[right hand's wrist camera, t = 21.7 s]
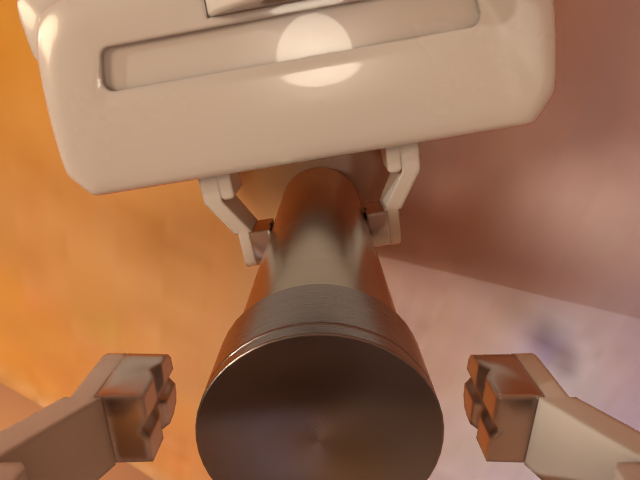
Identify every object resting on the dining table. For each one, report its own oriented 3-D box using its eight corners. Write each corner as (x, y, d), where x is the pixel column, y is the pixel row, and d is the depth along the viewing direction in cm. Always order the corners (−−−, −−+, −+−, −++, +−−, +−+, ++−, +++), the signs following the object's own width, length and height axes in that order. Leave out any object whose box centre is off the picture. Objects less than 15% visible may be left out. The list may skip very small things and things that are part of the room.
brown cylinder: (279, 236, 26) (210, 486, 10) (286, 162, 24) (218, 315, 8) (352, 245, 26) (403, 504, 10) (364, 172, 25) (446, 340, 9)
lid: (463, 375, 11) (495, 441, 9) (319, 480, 12) (319, 561, 10) (320, 239, 9) (320, 281, 7) (177, 373, 11) (144, 439, 9)
